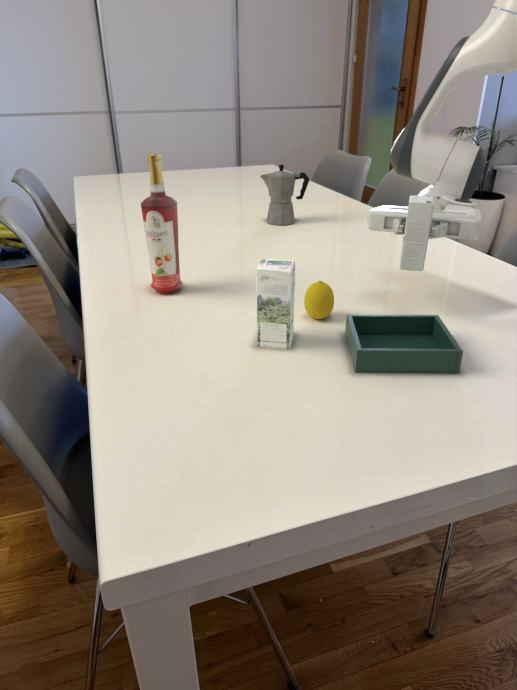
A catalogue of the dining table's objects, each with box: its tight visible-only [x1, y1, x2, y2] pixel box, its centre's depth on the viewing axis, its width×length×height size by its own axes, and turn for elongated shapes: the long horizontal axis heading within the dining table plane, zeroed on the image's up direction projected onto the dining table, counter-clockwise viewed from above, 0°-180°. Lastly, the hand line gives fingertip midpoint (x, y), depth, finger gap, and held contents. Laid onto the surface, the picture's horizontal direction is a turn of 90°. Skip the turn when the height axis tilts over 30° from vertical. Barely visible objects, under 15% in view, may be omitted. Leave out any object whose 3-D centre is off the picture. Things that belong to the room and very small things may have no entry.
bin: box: [344, 313, 464, 375], centre depth 83 cm, size 16×14×4 cm
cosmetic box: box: [399, 195, 434, 272], centre depth 91 cm, size 6×4×12 cm
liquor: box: [140, 153, 184, 295], centre depth 106 cm, size 7×7×28 cm
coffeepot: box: [260, 164, 310, 226], centre depth 164 cm, size 15×9×18 cm, turn 87°
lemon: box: [303, 280, 335, 320], centre depth 95 cm, size 6×6×8 cm
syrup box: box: [255, 258, 296, 350], centre depth 85 cm, size 6×6×14 cm
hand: (416, 231), depth 90 cm, fingers closed on cosmetic box, 4 cm apart
